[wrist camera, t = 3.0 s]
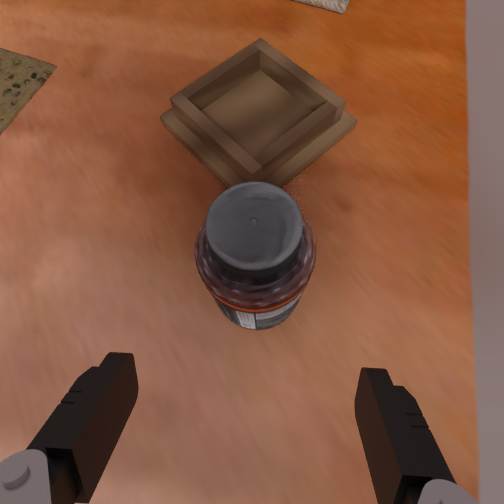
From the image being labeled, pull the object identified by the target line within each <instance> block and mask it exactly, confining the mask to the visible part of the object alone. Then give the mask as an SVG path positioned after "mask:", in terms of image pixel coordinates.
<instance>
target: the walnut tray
mask: <svg viewBox="0 0 504 504" xmlns="http://www.w3.org/2000/svg"><path fill="white" fill-rule="evenodd" d="M170 101H171V104H172V107H173V108H171V109H170V110H168V111H167V112H165V113H164V114H162V115H161V116H160V119H161V121H162V124H163V125H164V126H165V127H166V128H167V129H168V130H169V131H170V132H171V133H172V134H173V135H174V136H175V137H176V138H177V139H178V140H179V141H180V142H181V143H182V144H183V145H184V146H185V147H186V148H187V149H188V150H189V151H190V152H192V153H193V154H194V155H195V156H196V157H197V158H198V159H199V160H200V161H201V162H202V163H203V164H204V165H205V166H206V167H207V168H208V169H209V170H210V171H211V172H212V173H213V174H214V175H215V176H216V177H217V178H218V179H219V180H220V181H221V182H222V183H223V184H224V185H225V186H226V187H227V188H230V187H232V186H235V185H237V184H240V183H244V182H250V181H252V182H254V181H257V182H265V183H269V184H273V185H275V186H277V187H279V188H282V187H283V186H284V185H286V184H287V183H288V182H289V181H290V180H292V179H293V178H294V177H295V176H297V175H298V174H299V173H300V172H301V171H303V170H304V169H305V168H306V167H308V166H309V165H310V164H311V163H313V162H314V161H315V160H316V159H317V158H319V157H320V156H321V155H322V154H324V153H325V152H326V151H327V150H328V149H330V148H331V147H332V146H333V145H335V144H336V143H337V142H338V141H340V140H341V139H342V138H343V137H344V136H346V135H347V134H348V133H349V132H351V131H352V130H353V129H354V128H355V125H356V122H357V119H355V118H354V117H353V116H351V115H350V114H349V113H347V112H346V111H345V110H344V106H345V103H346V101H345V100H344V99H343V98H341V97H340V96H339V95H337V94H336V93H335V92H333V91H332V90H330V89H329V88H328V87H326V86H325V85H324V84H322V83H321V82H320V81H318V80H317V79H316V78H314V77H313V76H312V75H310V74H309V73H307V72H306V71H305V70H303V69H302V68H301V67H299V66H298V65H297V64H295V63H294V62H293V61H291V60H290V59H288V58H287V57H286V56H284V55H283V54H282V53H280V52H279V51H278V50H276V49H275V48H274V47H272V46H271V45H270V44H268V43H267V42H265V41H264V40H263V39H261V38H259V39H258V40H256V41H255V42H253V43H252V44H250V45H249V46H247V47H246V48H244V49H243V50H241V51H240V52H238V53H237V54H235V55H234V56H232V57H231V58H229V59H228V60H226V61H225V62H223V63H222V64H220V65H219V66H217V67H216V68H214V69H213V70H211V71H210V72H208V73H207V74H205V75H204V76H202V77H201V78H199V79H198V80H196V81H195V82H193V83H192V84H190V85H189V86H187V87H186V88H184V89H183V90H181V91H180V92H178V93H176V94H175V95H173V96H172V97H170Z"/></svg>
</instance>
